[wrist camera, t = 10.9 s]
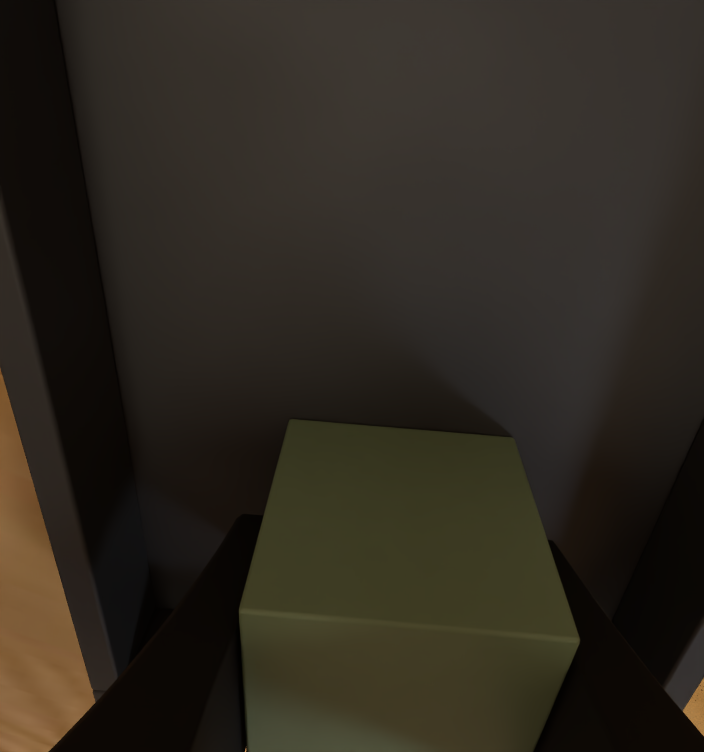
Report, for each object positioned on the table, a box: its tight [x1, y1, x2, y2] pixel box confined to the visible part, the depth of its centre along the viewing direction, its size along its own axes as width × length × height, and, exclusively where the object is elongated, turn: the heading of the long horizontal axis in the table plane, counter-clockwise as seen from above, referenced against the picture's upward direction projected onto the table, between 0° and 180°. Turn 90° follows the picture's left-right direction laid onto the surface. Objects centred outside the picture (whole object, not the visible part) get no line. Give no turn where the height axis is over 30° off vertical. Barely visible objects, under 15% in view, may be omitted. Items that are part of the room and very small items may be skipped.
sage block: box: [239, 419, 580, 752], centre depth 9 cm, size 4×4×4 cm
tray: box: [0, 0, 704, 711], centre depth 9 cm, size 15×11×2 cm
